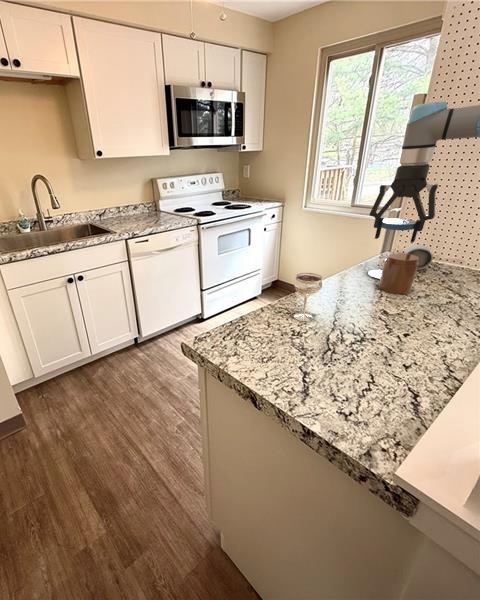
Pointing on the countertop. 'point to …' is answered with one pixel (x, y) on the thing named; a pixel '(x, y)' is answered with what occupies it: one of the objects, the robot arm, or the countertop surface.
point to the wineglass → (307, 290)
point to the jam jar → (398, 273)
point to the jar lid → (398, 224)
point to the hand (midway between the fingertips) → (394, 239)
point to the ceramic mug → (421, 255)
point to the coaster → (375, 274)
